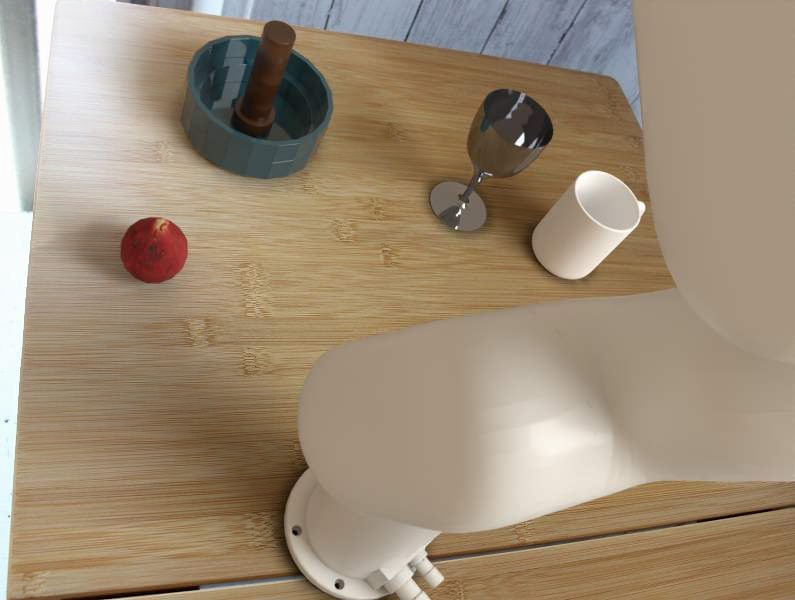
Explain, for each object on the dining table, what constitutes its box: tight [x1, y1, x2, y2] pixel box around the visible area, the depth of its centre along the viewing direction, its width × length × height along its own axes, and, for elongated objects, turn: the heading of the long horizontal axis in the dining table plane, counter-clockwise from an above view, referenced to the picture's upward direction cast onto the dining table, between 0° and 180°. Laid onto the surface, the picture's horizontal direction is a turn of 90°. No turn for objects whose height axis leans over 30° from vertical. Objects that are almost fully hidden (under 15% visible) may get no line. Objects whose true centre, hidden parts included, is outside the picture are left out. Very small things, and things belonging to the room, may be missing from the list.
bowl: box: [179, 34, 334, 180], centre depth 89 cm, size 15×15×6 cm
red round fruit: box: [119, 216, 189, 284], centre depth 74 cm, size 6×6×8 cm
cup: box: [531, 169, 646, 280], centre depth 95 cm, size 8×12×10 cm
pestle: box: [231, 19, 297, 138], centre depth 86 cm, size 4×4×13 cm
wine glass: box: [429, 88, 554, 233], centre depth 90 cm, size 8×8×15 cm
